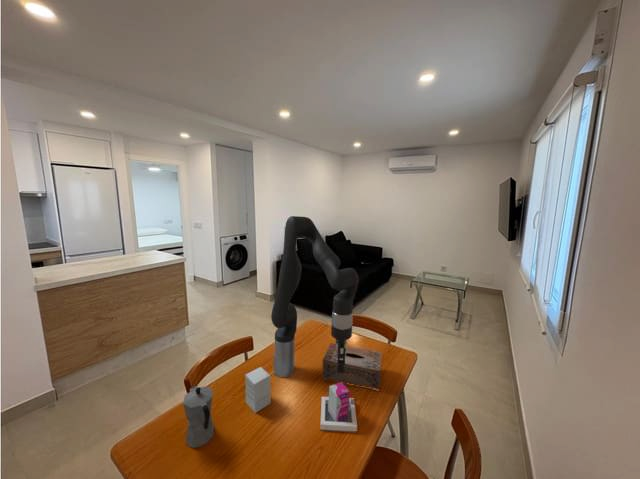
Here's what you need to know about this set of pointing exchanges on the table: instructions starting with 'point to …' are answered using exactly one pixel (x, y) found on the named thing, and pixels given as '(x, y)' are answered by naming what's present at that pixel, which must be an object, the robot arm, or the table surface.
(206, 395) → the coffeepot
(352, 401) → the socket plate
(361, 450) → the table surface
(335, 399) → the supplement box
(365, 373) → the tissue box cover
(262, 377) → the supplement box
